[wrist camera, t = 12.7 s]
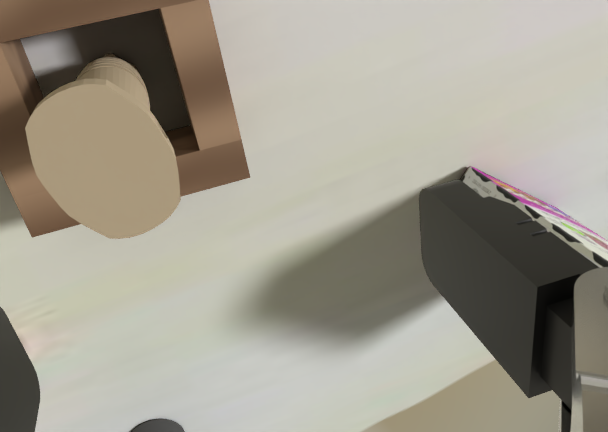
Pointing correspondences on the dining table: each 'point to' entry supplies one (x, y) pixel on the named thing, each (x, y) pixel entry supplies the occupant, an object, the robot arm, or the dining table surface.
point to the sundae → (158, 426)
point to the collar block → (185, 141)
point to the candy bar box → (542, 215)
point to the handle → (105, 151)
